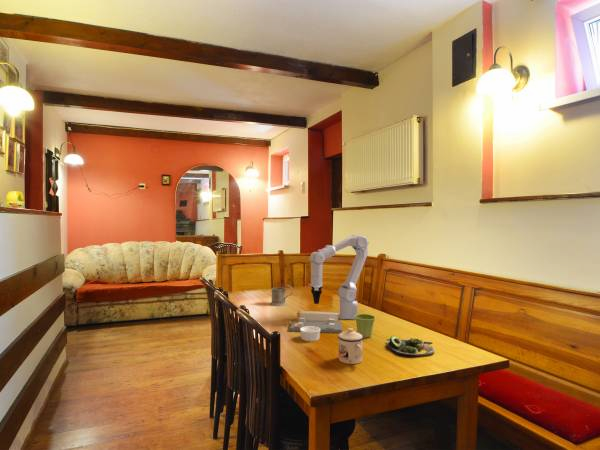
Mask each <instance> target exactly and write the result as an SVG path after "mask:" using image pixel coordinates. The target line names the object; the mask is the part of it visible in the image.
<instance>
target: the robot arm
mask: <svg viewBox="0 0 600 450" xmlns="http://www.w3.org/2000/svg"><path fill="white" fill-rule="evenodd" d="M369 242H370V241H368V238H367V236H364V235H356V234H353V235H351V236H347V237H346V238H344V239H343V240H341V241H339V242H338V243H336V244H334V245H331V244H330V245H329V244H327V245H325V246H324V247H323V248H321V249H319V248H318V250H317V251H313V252H312V253H311V254H310V256H309V261H310V265H311V266H310V272H311V273H310V282H311V283H308V286H309V287H310V286H311V289H310V292H311V295H312V298H313V304H314V305H319V304H320V298H321V294H322V292H323V289H322V288H323V263H324V262H325V261H326V260H328V259H330V258H331V257H333V256H335V255H336V253H337V252H338V251H340V250H343V249H345V248H347V247H351V248H352V249H353V250H354V252H355V254H356V255H355V257H354V259H353V262H352V264H351V268H350V270H349V272H348V274H347V278H346V280H345V281H344V282H342V284H341V286H340V287H339V288H338V290H337V296H338V297H339V313H338V320H339V319H340V320H355V317H354V316H355V315H357V314H359V311H358V300H356V296H357V291H358V289H357V286H356V284H357V283H358V279H359V277H360V274H361V272H362V271H363V267H364V264H365V262H366V259H367V256H368V253H369V252H368V249H369V248H368V247H369V246H368V245H369Z"/></svg>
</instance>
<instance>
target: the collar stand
mask: <svg viewBox="0 0 600 450" xmlns="http://www.w3.org/2000/svg"><path fill="white" fill-rule="evenodd" d="M342 325H343V324H342V322H339V321H338V322H334V319H329V322H321V321H305V318H299V321H297V320H292V322H291V324H290V326H289V332H293V331H294V332H297V333H299V332H300V333H301V331H300V328H302V327H305V326H315V327H319V328H320V333H326V334H327V333H330V334H331V333H333V334H340V333H342V332H343V328H342V327H343V326H342Z"/></svg>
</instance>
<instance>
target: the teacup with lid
mask: <svg viewBox="0 0 600 450" xmlns="http://www.w3.org/2000/svg"><path fill="white" fill-rule="evenodd" d="M337 338H338V360H339V361H340V362H341V363H344V364H346V365H357V364H359V363H360V364H361V362H362V361H363V353H364V351H363V340H364V338H363V336H362V335H361V334H359V333H357V331H355V330H354V328H353V327H352V328H351V327H349V328H347V330H345V331H342V333H338V336H337Z"/></svg>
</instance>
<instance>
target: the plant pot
mask: <svg viewBox="0 0 600 450" xmlns="http://www.w3.org/2000/svg"><path fill="white" fill-rule="evenodd" d="M354 317H355V319H354V320H355V324H356V332H357V333H359V334H361V335H362V336H363V339H367V338H372V335H373V328H374V327H373V326H374V322H375V320H376V318H377V317H376V316H375V315H373V314H370V313H358V314H357V315H355V316H354Z"/></svg>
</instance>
